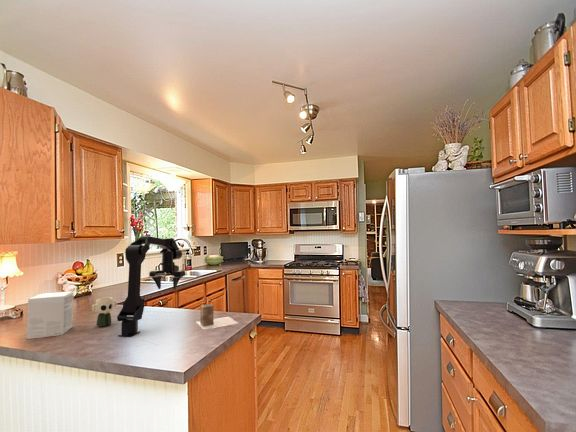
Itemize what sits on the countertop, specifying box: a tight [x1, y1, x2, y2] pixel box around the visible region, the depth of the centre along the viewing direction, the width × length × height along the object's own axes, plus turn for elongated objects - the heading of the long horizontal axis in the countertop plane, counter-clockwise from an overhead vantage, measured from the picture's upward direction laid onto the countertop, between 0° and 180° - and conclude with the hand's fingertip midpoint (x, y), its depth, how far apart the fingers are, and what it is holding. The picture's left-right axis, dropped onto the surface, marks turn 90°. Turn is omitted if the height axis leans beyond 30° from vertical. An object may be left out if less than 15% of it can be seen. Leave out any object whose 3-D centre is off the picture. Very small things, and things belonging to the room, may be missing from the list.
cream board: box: [196, 316, 239, 331], centre depth 139 cm, size 17×14×1 cm
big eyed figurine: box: [91, 297, 117, 327], centre depth 140 cm, size 11×7×13 cm, turn 145°
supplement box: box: [25, 290, 74, 340], centre depth 131 cm, size 13×13×18 cm
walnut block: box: [199, 303, 215, 327], centre depth 137 cm, size 5×5×9 cm
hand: (167, 289), depth 155 cm, fingers open, 9 cm apart
